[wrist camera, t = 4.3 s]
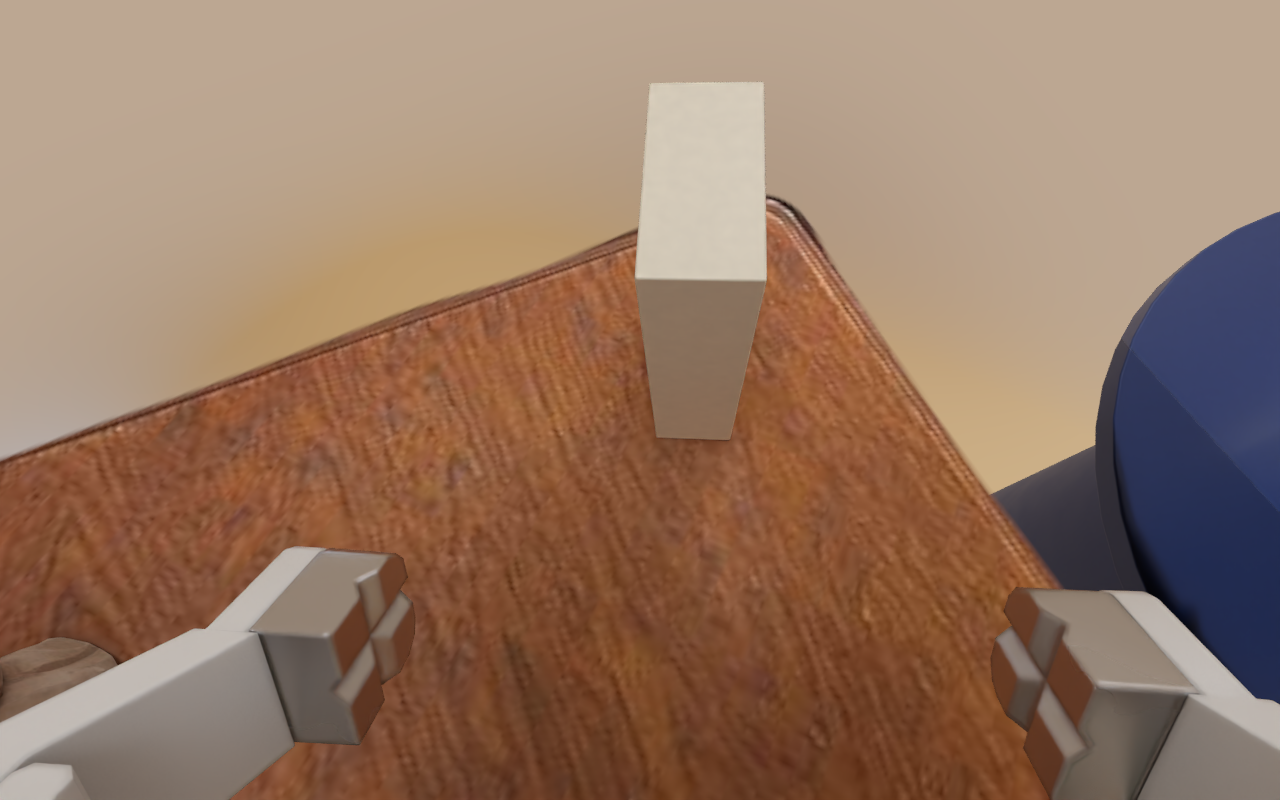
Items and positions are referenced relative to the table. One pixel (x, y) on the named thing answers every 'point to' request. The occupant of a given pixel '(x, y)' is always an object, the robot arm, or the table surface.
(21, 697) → the sculpture
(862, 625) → the table surface
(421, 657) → the table surface
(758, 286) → the cream rectangular block
